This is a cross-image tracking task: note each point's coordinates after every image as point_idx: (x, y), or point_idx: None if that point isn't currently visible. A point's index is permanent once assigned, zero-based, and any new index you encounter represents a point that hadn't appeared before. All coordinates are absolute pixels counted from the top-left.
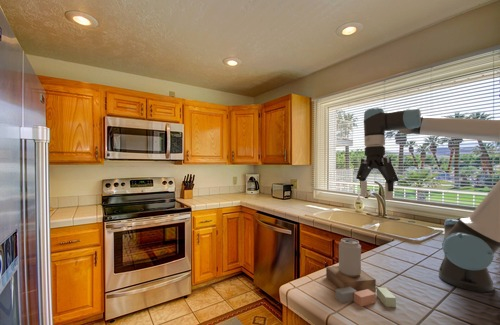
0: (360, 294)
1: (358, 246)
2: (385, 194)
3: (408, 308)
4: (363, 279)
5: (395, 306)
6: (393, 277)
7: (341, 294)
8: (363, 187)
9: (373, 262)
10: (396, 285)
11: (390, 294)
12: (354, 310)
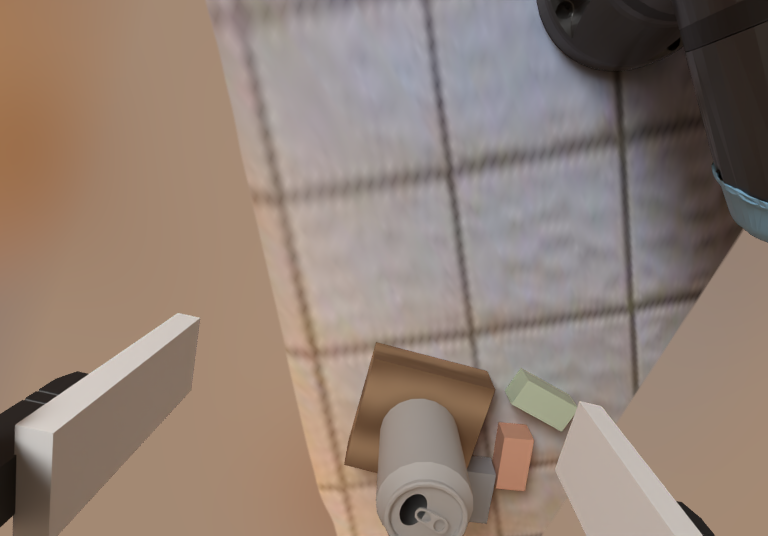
0: (513, 481)
1: (469, 504)
2: (582, 517)
3: (591, 370)
4: (474, 425)
5: (568, 395)
6: (456, 223)
7: (484, 522)
8: (132, 431)
9: (324, 163)
10: (498, 273)
11: (560, 406)
12: (520, 500)
